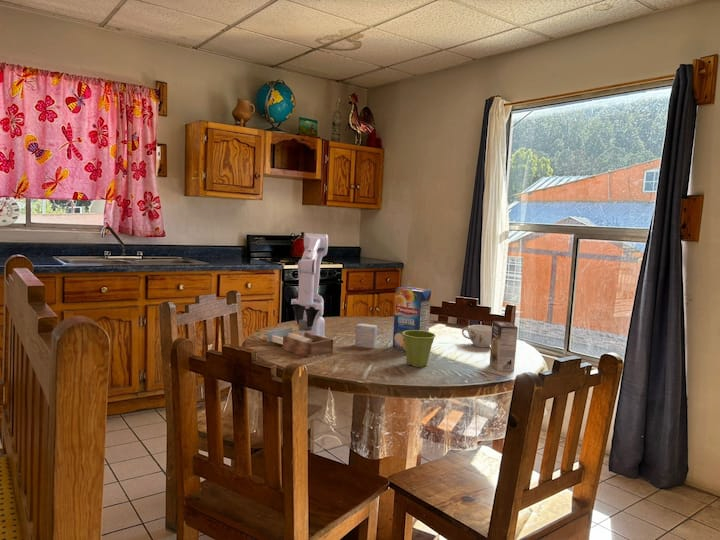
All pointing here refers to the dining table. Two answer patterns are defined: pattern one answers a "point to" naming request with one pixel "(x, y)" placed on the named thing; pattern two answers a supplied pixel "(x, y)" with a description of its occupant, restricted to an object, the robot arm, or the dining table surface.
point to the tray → (279, 333)
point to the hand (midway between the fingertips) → (304, 325)
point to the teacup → (479, 335)
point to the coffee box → (503, 346)
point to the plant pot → (418, 347)
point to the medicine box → (366, 336)
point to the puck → (304, 325)
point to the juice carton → (410, 313)
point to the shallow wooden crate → (308, 345)
